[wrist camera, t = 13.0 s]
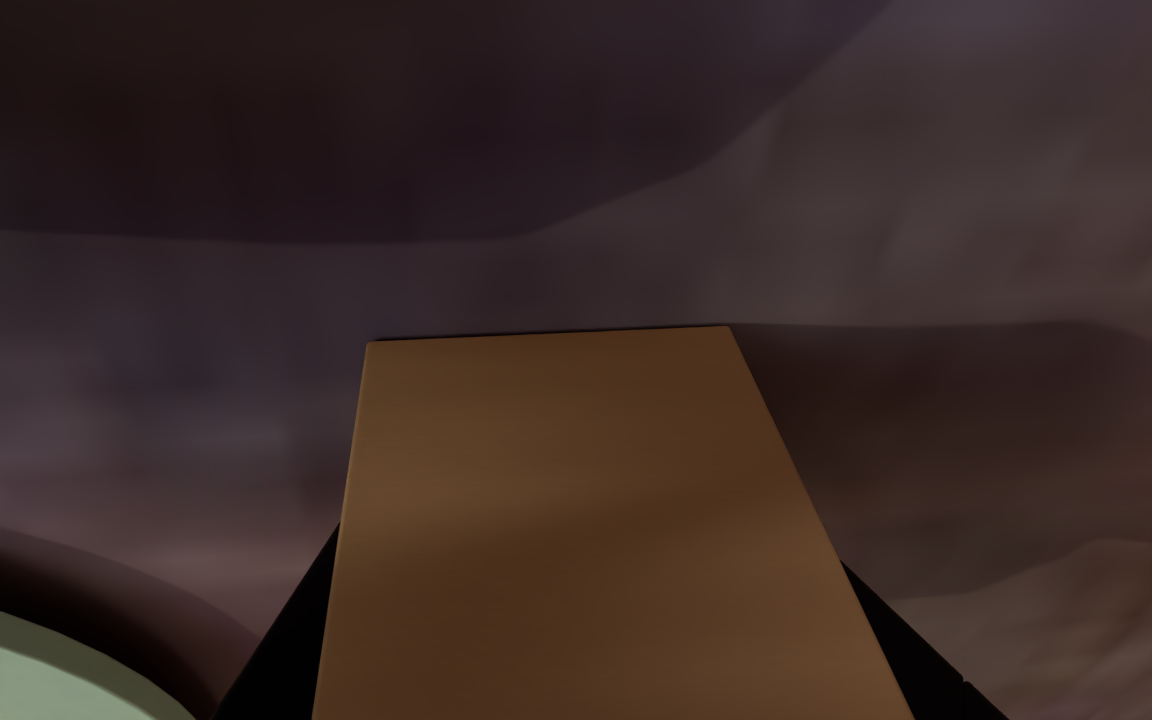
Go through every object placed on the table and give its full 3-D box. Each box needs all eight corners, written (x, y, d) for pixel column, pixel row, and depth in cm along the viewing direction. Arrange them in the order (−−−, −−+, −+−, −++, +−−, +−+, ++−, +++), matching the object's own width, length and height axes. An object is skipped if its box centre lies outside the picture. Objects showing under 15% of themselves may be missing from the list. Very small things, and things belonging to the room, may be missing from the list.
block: (729, 324, 10) (942, 771, 6) (686, 548, 13) (804, 961, 8) (365, 339, 9) (290, 848, 5) (403, 571, 12) (376, 1025, 8)
